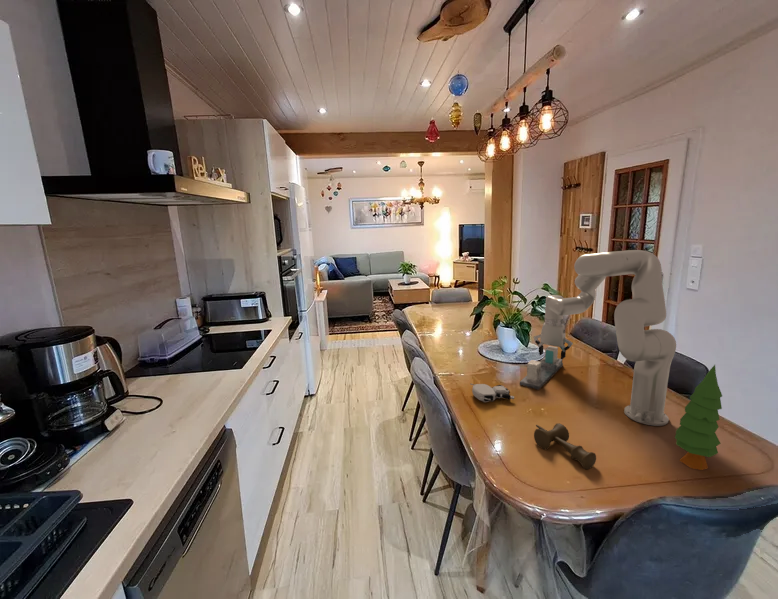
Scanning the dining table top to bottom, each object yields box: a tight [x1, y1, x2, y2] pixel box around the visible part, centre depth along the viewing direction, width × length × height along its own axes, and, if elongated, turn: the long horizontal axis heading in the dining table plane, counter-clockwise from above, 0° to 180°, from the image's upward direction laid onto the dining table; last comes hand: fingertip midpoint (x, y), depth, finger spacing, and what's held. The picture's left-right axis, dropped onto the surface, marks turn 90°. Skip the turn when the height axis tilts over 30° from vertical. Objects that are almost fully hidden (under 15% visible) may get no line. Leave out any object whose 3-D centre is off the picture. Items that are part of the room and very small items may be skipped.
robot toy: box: [470, 383, 515, 403], centre depth 140 cm, size 12×4×15 cm
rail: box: [519, 356, 564, 391], centre depth 159 cm, size 32×8×10 cm, turn 138°
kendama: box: [533, 423, 597, 470], centre depth 106 cm, size 6×10×20 cm
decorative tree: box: [674, 364, 723, 471], centre depth 96 cm, size 10×9×30 cm
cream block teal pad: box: [544, 345, 559, 364], centre depth 166 cm, size 4×6×8 cm
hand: (551, 356), depth 167 cm, fingers open, 9 cm apart
